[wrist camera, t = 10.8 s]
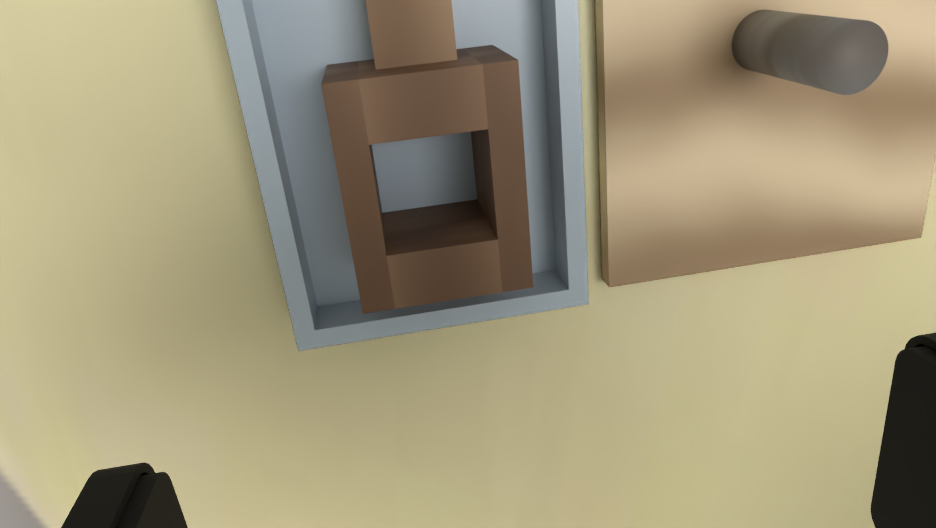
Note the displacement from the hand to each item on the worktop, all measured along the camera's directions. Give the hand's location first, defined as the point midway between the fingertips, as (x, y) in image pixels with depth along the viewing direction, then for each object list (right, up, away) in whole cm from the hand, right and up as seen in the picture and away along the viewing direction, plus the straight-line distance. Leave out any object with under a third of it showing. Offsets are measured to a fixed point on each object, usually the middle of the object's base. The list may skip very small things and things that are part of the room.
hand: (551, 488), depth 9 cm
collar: (-3, +8, +14) cm, 17 cm away
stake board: (+10, +9, +16) cm, 21 cm away
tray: (-3, +8, +15) cm, 17 cm away
